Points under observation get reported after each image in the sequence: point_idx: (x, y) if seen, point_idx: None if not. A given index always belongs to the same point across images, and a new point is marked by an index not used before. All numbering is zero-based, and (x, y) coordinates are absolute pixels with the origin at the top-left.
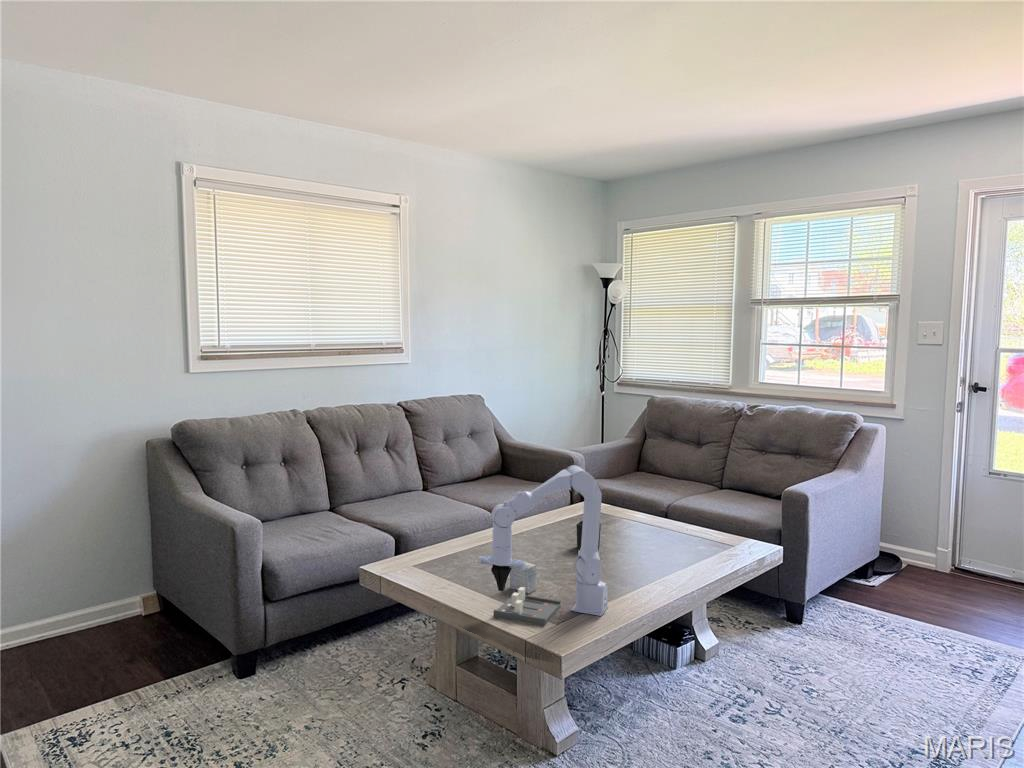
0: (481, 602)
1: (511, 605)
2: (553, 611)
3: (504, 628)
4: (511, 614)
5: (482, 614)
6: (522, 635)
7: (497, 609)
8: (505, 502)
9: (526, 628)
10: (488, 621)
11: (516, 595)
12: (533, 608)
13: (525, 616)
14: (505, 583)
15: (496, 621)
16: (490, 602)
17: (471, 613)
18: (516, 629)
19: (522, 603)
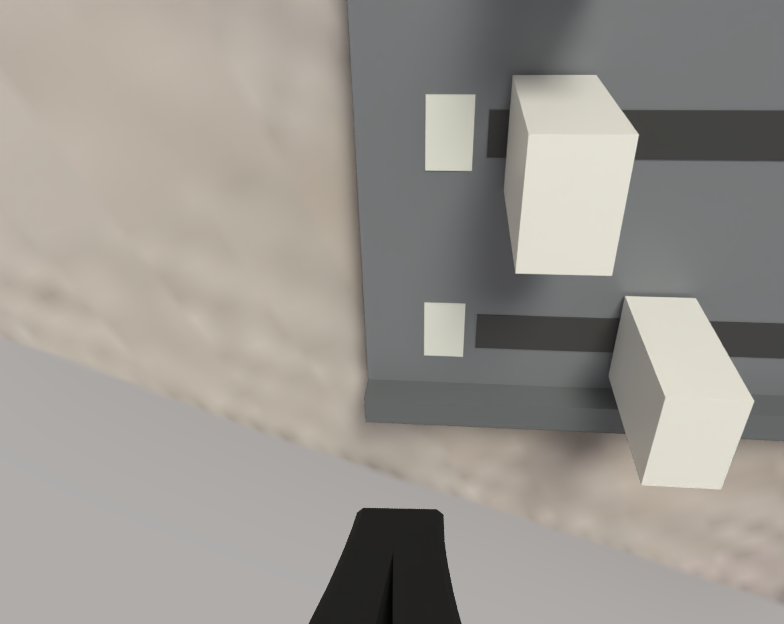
0: (17, 66)
1: (484, 140)
2: None
3: (559, 518)
4: (585, 426)
5: (244, 356)
6: (740, 570)
7: (365, 314)
8: None
9: (762, 475)
10: (374, 455)
11: (605, 260)
12: None
13: (763, 435)
14: (453, 608)
15: (441, 437)
16: (112, 11)
17: (139, 369)
18: (669, 509)
19: (735, 377)
